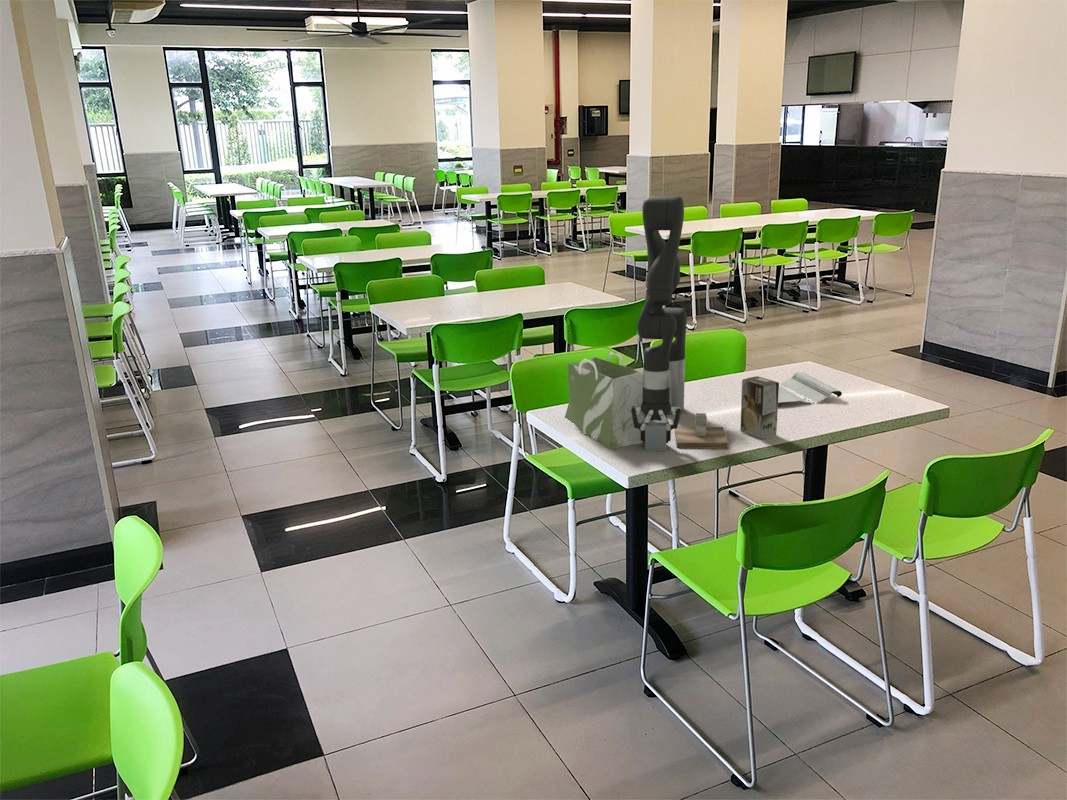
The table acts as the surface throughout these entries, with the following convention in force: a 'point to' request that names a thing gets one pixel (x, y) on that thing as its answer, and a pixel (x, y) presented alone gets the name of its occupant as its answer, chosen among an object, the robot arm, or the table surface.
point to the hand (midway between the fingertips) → (655, 441)
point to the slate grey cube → (655, 436)
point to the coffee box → (759, 407)
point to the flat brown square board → (701, 435)
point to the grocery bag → (605, 400)
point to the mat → (805, 389)
